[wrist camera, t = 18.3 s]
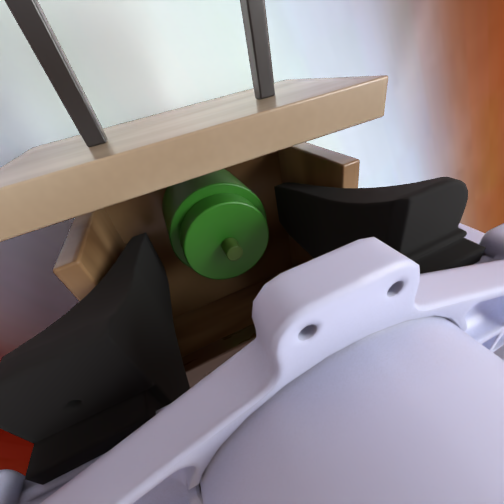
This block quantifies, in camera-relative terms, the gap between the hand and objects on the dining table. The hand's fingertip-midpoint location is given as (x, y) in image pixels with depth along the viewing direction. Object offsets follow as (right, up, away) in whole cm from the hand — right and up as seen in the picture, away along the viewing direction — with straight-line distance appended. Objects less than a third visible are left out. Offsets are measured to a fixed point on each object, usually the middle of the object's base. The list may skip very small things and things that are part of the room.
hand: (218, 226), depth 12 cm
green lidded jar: (-1, +1, +2) cm, 3 cm away
